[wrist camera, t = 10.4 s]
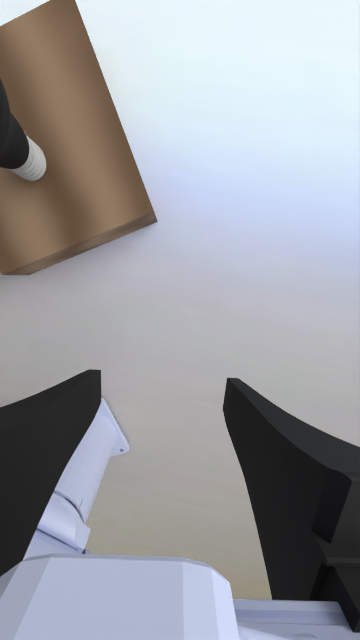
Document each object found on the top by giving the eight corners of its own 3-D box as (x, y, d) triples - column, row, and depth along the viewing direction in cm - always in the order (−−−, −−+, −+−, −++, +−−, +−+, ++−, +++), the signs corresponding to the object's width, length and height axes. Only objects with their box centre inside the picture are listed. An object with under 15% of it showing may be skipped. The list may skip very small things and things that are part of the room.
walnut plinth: (28, 274, 19) (2, 274, 16) (-58, 117, 16) (-109, 82, 13) (157, 221, 18) (153, 211, 16) (91, 43, 15) (71, -11, 13)
